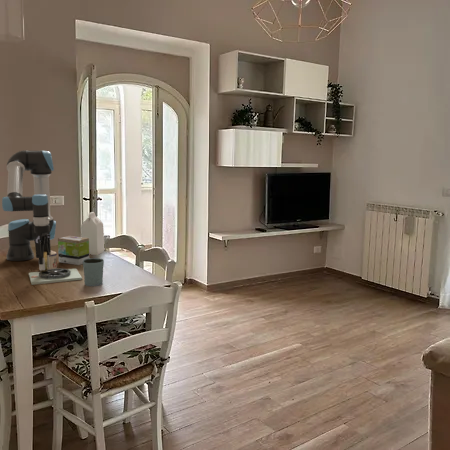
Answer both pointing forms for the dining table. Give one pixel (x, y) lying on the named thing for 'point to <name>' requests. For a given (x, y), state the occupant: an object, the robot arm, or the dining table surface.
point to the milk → (93, 234)
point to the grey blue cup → (93, 271)
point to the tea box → (73, 249)
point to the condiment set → (52, 260)
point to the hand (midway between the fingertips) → (44, 268)
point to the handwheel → (53, 271)
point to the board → (38, 280)
